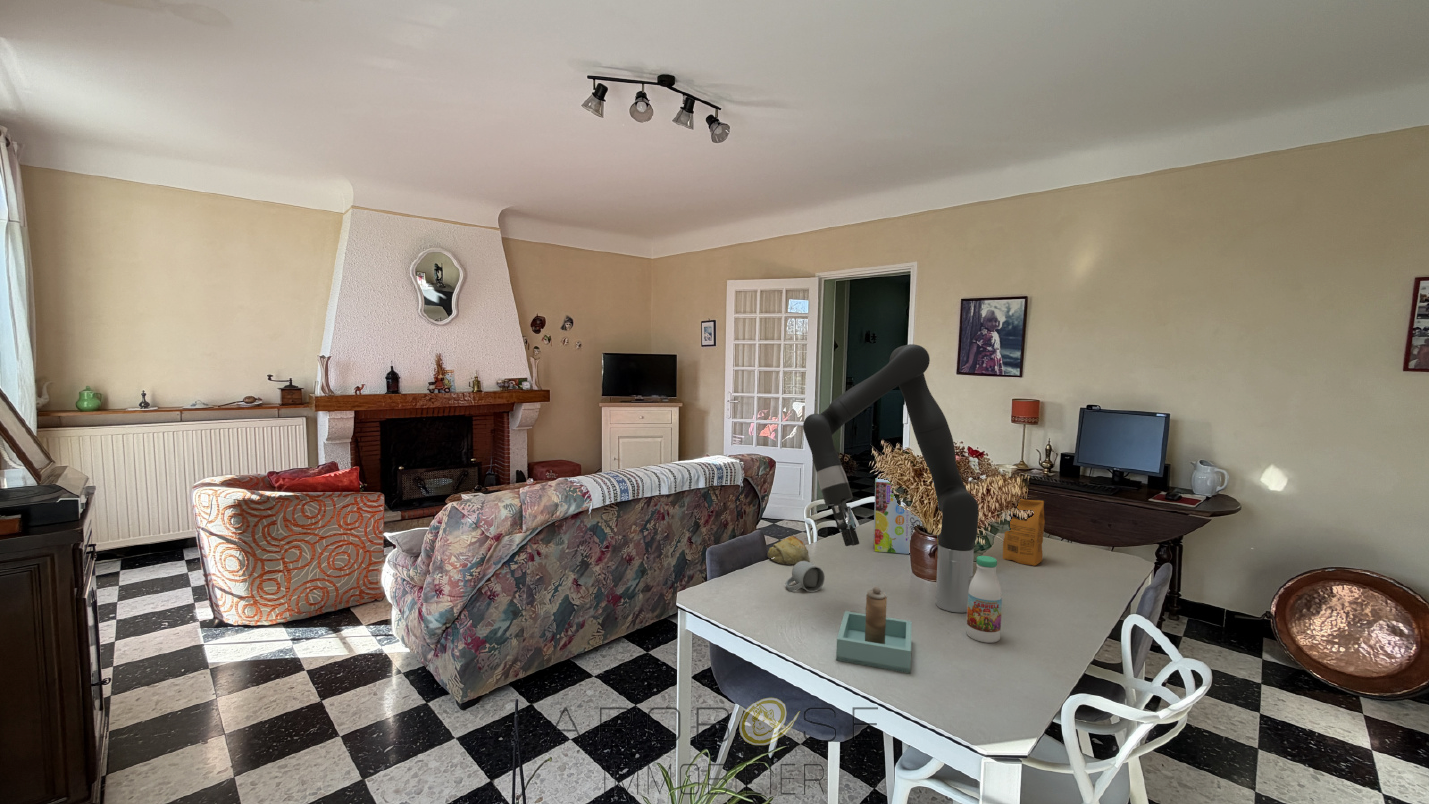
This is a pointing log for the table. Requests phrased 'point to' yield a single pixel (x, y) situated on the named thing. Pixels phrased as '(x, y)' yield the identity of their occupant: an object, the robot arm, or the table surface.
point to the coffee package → (1025, 535)
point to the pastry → (789, 551)
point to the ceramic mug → (806, 577)
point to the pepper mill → (875, 616)
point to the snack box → (891, 521)
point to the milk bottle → (984, 602)
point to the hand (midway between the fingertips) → (852, 545)
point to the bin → (875, 654)
